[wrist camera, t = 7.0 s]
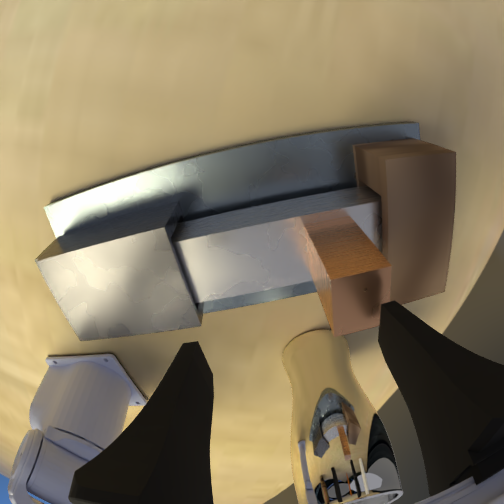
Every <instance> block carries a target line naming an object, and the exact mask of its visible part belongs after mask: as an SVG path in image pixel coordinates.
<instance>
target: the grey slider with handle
mask: <svg viewBox="0 0 504 504" xmlns="http://www.w3.org/2000/svg"><path fill="white" fill-rule="evenodd" d="M171 241H172V243H173V246H174V249H175V252H176V255H177V258H178V260H179V263H180V266H181V269H182V271H183V274H184V277H185V280H186V282H187V285H188V288H189V290H190V293H191V296H192V298H193V301H194V303H199V302H205V301H211V300H216V299H222V298H227V297H233V296H238V295H243V294H248V293H254V292H259V291H264V290H269V289H274V288H279V287H284V286H289V285H294V284H298V283H303V282H308V281H313V282H314V284H315V287H316V290H317V292H318V295H319V298H320V300H321V303H322V306H323V308H324V311H325V314H326V316H327V319H328V322H329V325H330V327H331V330H332V333H333V336H334V337H337V336H342V335H346V334H350V333H354V332H358V331H362V330H365V329H369V328H373V327H376V326H379V325H380V312H381V304H383V303H387V302H390V289H391V270H392V266H391V264H390V263H389V262H388V261H387V259H386V258H385V257H384V256H383V254H382V204H381V196H380V195H379V194H378V193H376V192H375V191H374V190H372V189H371V188H370V187H368V186H361V187H355V188H349V189H343V190H338V191H332V192H327V193H321V194H316V195H310V196H305V197H300V198H294V199H289V200H284V201H279V202H274V203H269V204H264V205H259V206H254V207H250V208H245V209H240V210H236V211H231V212H226V213H222V214H217V215H213V216H208V217H204V218H199V219H195V220H191V221H186V222H182V223H178V224H177V226H176V228H175V230H174V232H173V234H172V237H171Z"/></svg>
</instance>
